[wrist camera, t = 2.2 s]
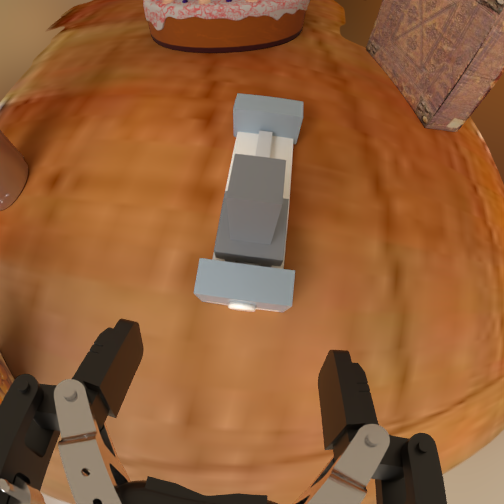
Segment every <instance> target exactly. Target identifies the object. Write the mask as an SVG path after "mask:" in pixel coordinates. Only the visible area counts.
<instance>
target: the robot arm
mask: <svg viewBox="0 0 504 504" xmlns="http://www.w3.org/2000/svg"><path fill="white" fill-rule="evenodd" d="M27 176H28V165H27V163H26V162H25V161H24V156H23V155H22V154H21V153H20V152H19V151H18V150H17V149H16V148H15V146H14V145H13V144H12V143H11V142H10V141H9V140H8V138H7V137H6V136H5V135H4V134H3V133H2V131H1V130H0V210H4V209H6V208H7V207H9V206H10V205H11V204H12V203H13V202H14V201H15V200H16V198H17V197H18V196H19V194H20V193H21V191H22V189H23V187H24V185H25V183H26V180H27ZM142 356H143V343H142V338H141V333H140V328H139V324H138V323H137V322H134V321H130V320H126V319H120V320H119V321H118V323H117V324H116V326H115V327H114V329H113V328H107V329H106V330H105V331H103V332H102V333H101V334H100V335H99V336H98V338H97V339H96V341H95V342H94V345H92V347H91V349H90V352H88V353H87V355H86V357H85V358H84V360H83V362H82V363H81V365H80V366H79V368H78V370H77V371H76V373H75V375H74V376H73V378H72V379H67V380H64V381H62V382H60V383H59V384H58V385H57V386H56V385H45V384H39V383H38V382H37V380H36V379H35V377H33V376H32V375H29V374H22V375H20V376H18V377H17V378H16V379H15V380H14V381H13V383H12V385H11V386H10V388H9V390H8V392H7V393H6V395H5V397H4V399H3V401H2V402H1V404H0V504H45V502H44V498H43V496H42V494H41V493H40V489H41V486H42V482H43V479H44V476H45V473H46V470H47V467H48V464H49V461H50V459H51V456H52V453H53V450H54V448H55V445H56V442H57V440H58V437H59V435H60V432H61V438H62V440H61V441H59V443H58V447H59V452H60V456H61V460H62V463H63V467H64V470H65V473H66V477H67V480H68V483H69V486H70V489H71V492H72V494H73V497H74V500H75V502H76V504H278V503H275V502H272V501H269V500H267V496H266V495H249V494H228V495H215V496H205V495H201V494H199V493H197V492H194V491H192V490H189V489H187V488H185V487H183V486H180V485H178V484H176V483H172V482H168V481H164V480H160V479H156V478H153V477H149V476H148V478H147V481H144V480H143V481H132V482H131V481H130V479H129V477H128V475H127V473H126V471H125V469H124V467H123V465H122V464H121V462H120V460H119V458H118V456H117V453H116V451H115V448H114V446H113V443H112V440H111V438H110V435H109V432H108V429H107V426H106V423H105V420H106V418H107V416H108V415H109V416H112V417H114V418H116V417H117V415H118V412H119V410H120V407H121V405H122V403H123V400H124V398H125V396H126V393H127V391H128V389H129V386H130V384H131V382H132V379H133V377H134V375H135V373H136V370H137V368H138V366H139V364H140V362H141V359H142ZM367 383H368V382H367V378H366V374H365V372H364V370H363V369H362V368H361V366H360V365H359V364H358V363H352V361H351V357H350V354H349V352H348V351H344V350H330V351H329V353H328V355H327V357H326V359H325V362H324V364H323V366H322V368H321V370H320V373H319V377H318V389H319V398H320V407H321V416H322V426H323V436H324V447H325V450H331V449H333V452H334V456H333V457H332V458H331V460H330V461H329V462H328V464H327V465H326V466H325V468H324V469H323V470H322V472H321V473H320V474H319V475H318V477H317V478H316V479H315V480H314V481H313V483H312V484H311V485H310V486H309V487H308V489H307V490H306V491H305V492H304V493H302V494H301V495H300V496H299V497H298V498H297V500H296V501H295V502H294V503H293V504H360V503H361V502H362V500H363V499H364V497H365V495H366V493H367V489H366V486H367V484H368V482H369V481H370V479H371V478H372V479H375V484H376V499H377V504H447V501H446V494H445V487H444V482H443V476H442V471H441V466H440V461H439V456H438V452H437V447H436V444H435V441H434V440H433V438H432V437H431V436H429V435H428V434H425V433H418V434H415V435H414V436H412V437H411V438H410V439H407V438H401V437H396V436H391V435H389V434H388V432H387V431H386V430H385V429H384V428H383V427H381V426H379V424H378V421H377V417H376V413H375V409H374V405H373V401H372V397H371V393H370V389H369V385H368V384H367Z"/></svg>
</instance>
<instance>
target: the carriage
mask: <svg viewBox="0 0 504 504" xmlns="http://www.w3.org/2000/svg"><path fill="white" fill-rule="evenodd" d="M285 168H286V160H282V159H275V158H268V157H260V156H252V155H243V154H235V156H234V161H233V166H232V171H231V176H230V181H229V186H228V191H225V194H224V199H223V204H222V210H221V215H220V220H219V226H218V231H217V237H216V242H215V248H214V253H215V257H216V258H220V259H225V261H226V262H233V263H236V261H243V262H250V263H258V264H261V265H260V266H264V267H271V266H272V265H273V266H281V264H282V262H283V260H284V250H285V239H286V227H287V215H288V203H289V199H285V198H283V192H284V180H285Z"/></svg>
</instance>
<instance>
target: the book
mask: <svg viewBox="0 0 504 504" xmlns="http://www.w3.org/2000/svg"><path fill="white" fill-rule="evenodd" d="M366 50H367V51H368V52H369V53H370V55H371V56H372V57H373V58H374V59H375V60H376V61H377V63H378V64H379V65H380V66H381V67H382V69H383V70H384V71H385V72H386V74H387V75H388V76H389V77H390V79H391V80H392V81H393V83H394V84H395V85H396V86H397V88H398V89H399V90H400V92H401V93H402V95H403V96H404V97H405V99H406V100H407V102H408V103H409V105H410V106H411V107H412V109H413V110H414V112H415V113H416V115H417V116H418V118H419V120H420V121H421V123H422V124H423V126H424V127H425V128H431V129H439V130H446V131H452V132H457V131H458V130H459V129H460V127H461V126H462V125H463V124H464V123H465V121H466V120H467V119H468V118H469V117H470V115H471V114H472V113H473V112H474V110H475V109H476V108H477V107H478V105H479V104H480V103H481V102H482V100H483V99H484V98H485V97H486V95H487V94H488V92H489V91H490V90H491V89H492V88H493V86H494V85H495V84H496V82H497V81H498V80H499V78H500V77H501V75H502V74H503V73H504V0H383V1H382V4H381V7H380V10H379V13H378V16H377V19H376V21H375V24H374V27H373V30H372V33H371V36H370V38H369V41H368V44H367V46H366Z"/></svg>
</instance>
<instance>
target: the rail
mask: <svg viewBox="0 0 504 504" xmlns="http://www.w3.org/2000/svg"><path fill="white" fill-rule="evenodd" d="M302 120H303V102H302V101H296V100H290V99H283V98H276V97H268V96H260V95H250V94H239V93H237V97H236V100H235V104H234V108H233V121H234V136H235V137H236V142H235V146H234V151H233V156H232V160H231V165H230V170H229V175H228V180H227V185H226V190H225V191H228V186H229V181H230V176H231V171H232V166H233V161H234V156H235V154H243V155H252V156H260V157H268V158H275V159H282V160H286V168H285V180H284V192H283V198H285V199H289V200H290V187H291V172H292V156H293V144H296V143H297V139H298V135H299V132H300V128H301V124H302ZM288 213H289V203H288ZM287 226H288V215H287ZM286 237H287V227H286ZM285 249H286V239H285ZM284 259H285V250H284ZM260 265H261V264H258V263H250V262H243V261H236V263H233V262H226V261H225V259H220V258H216V257H215V253H214V254H213V260H211V259H204V258H200V260H199V266H198V271H197V277H196V283H195V288H194V294H195V295H196V296H197V297H198V298H199V299H200V300H201V301H202V302H209V303H215V304H222V305H229V306H228V308H230V309H233V310H239V311H246V312H255V309H260V310H268V311H276V312H284V311H285V310H287V309H288V308H290V307H291V306H292V300H293V289H294V278H295V270H287V269H284V260H283V262H282V264H281V266H273V265H272V266H271V267H264V266H260Z"/></svg>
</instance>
